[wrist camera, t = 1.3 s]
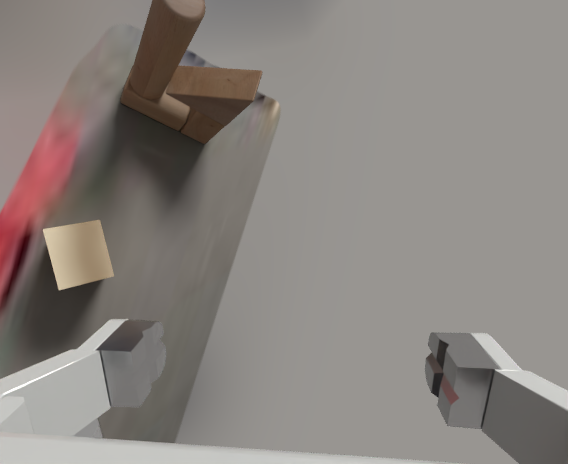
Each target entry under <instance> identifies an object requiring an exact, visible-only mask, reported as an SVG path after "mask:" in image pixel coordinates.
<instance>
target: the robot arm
mask: <svg viewBox="0 0 568 464" xmlns="http://www.w3.org/2000/svg"><path fill="white" fill-rule="evenodd" d="M163 334H164V332H163V326H162V324H161V323H160V322H159V321H146V320H128V319H111V320H109V321H108V322H107V323H106V324H105V325H104V326H102V327H101V328H100V329H99V330H98V331H97V332H96V333H95V334H93V335H92V336H91V337H90V338H89V339H88V340H87V341H86V342H85V343H83V344H82V345H81V346H80V347H79V348H78V349H77V350H69V351H67V352H64V353H62V354H59V355H57V356H55V357H52V358H50V359H47V360H45V361H43V362H40V363H38V364H36V365H33V366H31V367H28V368H26V369H24V370H21V371H19V372H16V373H14V374H12V375H9V376H7V377H4V378H2V379H0V464H465V463H450V462H436V461H420V460H407V459H393V458H378V457H364V456H349V455H335V454H320V453H305V452H290V451H275V450H261V449H246V448H232V447H217V446H203V445H189V444H175V443H160V442H146V441H131V440H117V439H103V438H88V437H74V436H73V435H75V434H76V433H77V432H79V431H80V430H81V429H83V428H84V427H85V426H87V425H88V424H89V423H91V422H92V421H93V420H95V419H96V418H98V417H99V416H100V415H102V414H103V413H104V412H106V411H107V410H108V409H110V406H112V407H140V406H141V405H142V403H143V402H144V400H145V399H146V397H147V395H148V394H149V392H150V391H151V382H153V381H155V380H156V379H158V378H159V376H160V375H161V373H162V371H163V369H164V365H165V362H166V347H165V345H164V344H163V343H162V342H161V341H160V339H161V337H162V336H163ZM428 346H429V347H430V349H431V351H432V353H431V354H430V355H429V356H428V357H427V358H426V364H425V373H426V380H427V383H428V386H429V388H430V391H431V393H433V394H434V395H435V396H437V397H438V408H439V409H440V412H441V414H442V416H443V418H444V420H445V422H446V424H447V426H453V427H464V428H475V429H482V431H483V432H484V433H485V434H486V435H487V436H488V437H490V438H491V439H492V440H493V441H494V442H495V443H496V444H497V445H499V446H500V447H501V448H502V449H503V450H504V451H505V452H507V453H508V454H509V455H510V456H511V457H512V458H513V459H514V460H516V461H517V462H518V463H519V464H568V391H567V390H565V389H563V388H561V387H559V386H557V385H555V384H553V383H551V382H549V381H547V380H545V379H543V378H541V377H540V376H538V375H536V374H534V373H531V372H530V371H522V369H520V367H519V366H518V365H517V364H516V363H515V362H514V361H513V360H512V359H511V358H510V356H509V355H508V354H507V353H506V352H505V351H504V350H503V349H502V348H501V347H500V346H499V345H498V343H497V342H496V341H495V340H494V339H493V338H492V337H491V336H490V335H488V334H486V333H431V334H430V337H429V342H428Z"/></svg>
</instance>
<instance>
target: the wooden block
mask: <svg viewBox="0 0 568 464" xmlns="http://www.w3.org/2000/svg"><path fill="white" fill-rule="evenodd" d="M204 14H205V2H204V0H153V1H152V4H151V7H150V11H149V14H148V18H147V21H146V24H145V28H144V31H143V35H142V38H141V42H140V45H139V48H138V52H137V55H136V59H135V62H134V65H133V66H132V69H131V71H130V74H129V76H128V78H127V81H126V83H125V85H124V88H123V91H122V95H121V99H120V102H121V103H122V104H124V105H126V106H128V107H130V108H132V109H134V110H136V111H138V112H140V113H142V114H144V115H146V116H148V117H150V118H152V119H154V120H156V121H158V122H160V123H163V124H165V125H167V126H169V127H171V128H173V129H175V130H177V131H179V130H180V132H181V133H183V134H185V135H187V136H189V137H191V138H193V139H195V140H197V141H199V142H201V143H203V144H206V143H207V142H208V141H209V140H210V139H211V138H212V137H213V136H215V135H216V134H217V133H218V132H219V131H220V130H221V129H222V128H223V127H225V126H226V125H227V124H229V123H230V122H231V121H232V120H233V119H234V118H235V117H236V116H237V115H239V114H240V113H241V112H242V111H243V110H244V109H245V108H246V107H248V106H249V105H250V104H251V103H252V102H253V101H254V99H255V95H256V92H257V89H258V85H259V82H260V79H261V76H262V71H258V70H241V69H226V68H210V67H193V66H178V65H179V63H180V61H181V59H182V57H183V55H184V53H185V51H186V49H187V47H188V46H189V43H190V42H191V40H192V38H193V36H194V34H195V32H196V30H197V28H198V26H199V24H200V23H201V20H202V19H203V17H204Z"/></svg>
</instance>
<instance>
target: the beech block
mask: <svg viewBox="0 0 568 464" xmlns="http://www.w3.org/2000/svg"><path fill="white" fill-rule="evenodd" d="M43 232H44V236H45V240H46V243H47V247H48V251H49V255H50V259H51V262H52V266H53V270H54V274H55V278H56V281H57V285H58V289H59V290H62V289H66V288H70V287H74V286H78V285H82V284H86V283H90V282H93V281H97V280H101V279H105V278H109V277H113V276H114V274H113V270H112V266H111V262H110V258H109V254H108V250H107V246H106V242H105V238H104V234H103V230H102V226H101V222H100V220H95V221H89V222H83V223H77V224H71V225H66V226H60V227H54V228H48V229H43Z"/></svg>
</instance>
